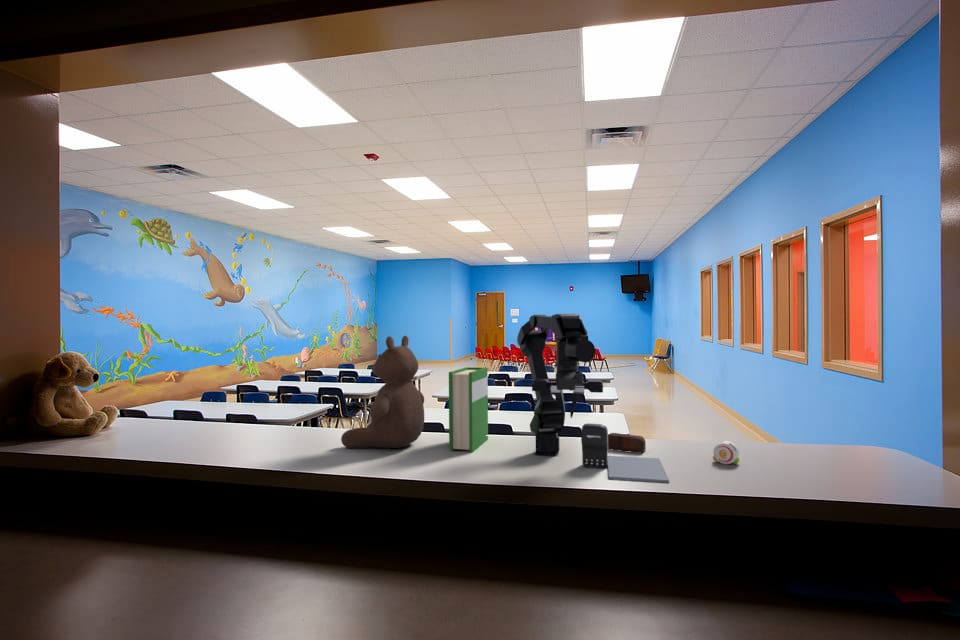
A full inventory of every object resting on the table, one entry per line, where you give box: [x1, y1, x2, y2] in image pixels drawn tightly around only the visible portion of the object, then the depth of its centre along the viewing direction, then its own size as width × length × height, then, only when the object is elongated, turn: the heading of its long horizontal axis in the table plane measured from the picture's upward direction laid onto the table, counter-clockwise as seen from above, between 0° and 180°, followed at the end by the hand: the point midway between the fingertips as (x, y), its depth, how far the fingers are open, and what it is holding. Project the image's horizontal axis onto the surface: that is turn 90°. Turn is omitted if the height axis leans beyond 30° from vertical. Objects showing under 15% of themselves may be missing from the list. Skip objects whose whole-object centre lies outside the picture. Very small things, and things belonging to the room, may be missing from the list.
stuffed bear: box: [340, 335, 425, 449], centre depth 160 cm, size 29×23×35 cm
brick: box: [608, 432, 647, 454], centre depth 151 cm, size 11×4×5 cm, turn 62°
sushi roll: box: [712, 440, 740, 465], centre depth 136 cm, size 4×6×6 cm
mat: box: [607, 455, 670, 483], centre depth 131 cm, size 14×20×1 cm
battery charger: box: [580, 422, 609, 469], centre depth 134 cm, size 7×4×11 cm, turn 72°
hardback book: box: [448, 366, 489, 454], centre depth 159 cm, size 18×7×24 cm, turn 164°
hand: (567, 417), depth 135 cm, fingers closed
